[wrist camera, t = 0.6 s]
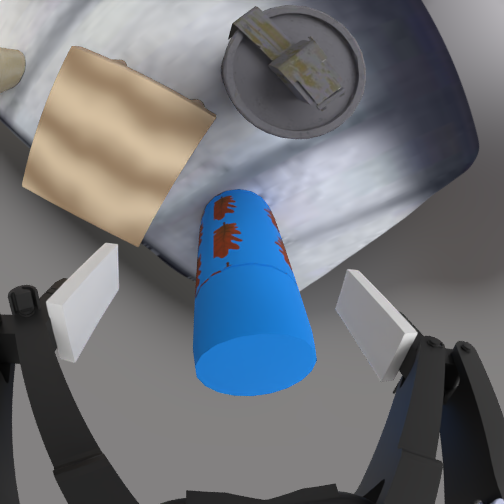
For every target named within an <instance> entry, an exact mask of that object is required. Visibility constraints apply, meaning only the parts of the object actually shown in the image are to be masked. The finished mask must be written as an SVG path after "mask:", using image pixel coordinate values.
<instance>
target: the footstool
mask: <svg viewBox="0 0 504 504" xmlns="http://www.w3.org/2000/svg"><path fill="white" fill-rule="evenodd" d="M215 119H216V114H214V113H212V112H211V111H209V110H207V109H206V108H205V107H204V104H203V103H202V102H201V101H200V100H197V99H194V100H190V99H188V98H186V97H185V96H183V95H181V94H179V93H177V92H176V91H174V90H172V89H170V88H168V87H166V86H164V85H162V84H161V83H159V82H157V81H155V80H153V79H151V78H149V77H147V76H145V75H143V74H141V73H139V72H137V71H135V70H133V69H131V68H128V67H127V65H126V63H125V61H123V60H114V59H109V58H107V57H104V56H102V55H100V54H98V53H95V52H93V51H90V50H88V49H86V48H83V47H79V46H72V47H71V49H70V51H69V52H68V54H67V56H66V58H65V60H64V62H63V65H62V67H61V69H60V71H59V73H58V75H57V77H56V80H55V82H54V84H53V87H52V89H51V92H50V94H49V96H48V99H47V102H46V104H45V107H44V110H43V112H42V115H41V118H40V121H39V124H38V127H37V130H36V133H35V136H34V139H33V143H32V146H31V150H30V154H29V157H28V161H27V165H26V169H25V174H24V178H23V183H22V186H23V187H24V188H26V189H28V190H30V191H32V192H33V193H35V194H37V195H39V196H41V197H43V198H44V199H46V200H48V201H50V202H52V203H53V204H55V205H57V206H59V207H61V208H63V209H65V210H66V211H68V212H70V213H72V214H74V215H76V216H78V217H80V218H81V219H84V220H85V221H87V222H89V223H91V224H93V225H95V226H97V227H99V228H101V229H103V230H105V231H107V232H109V233H111V234H113V235H115V236H117V237H119V238H121V239H123V240H125V241H127V242H129V243H131V244H133V245H135V246H137V247H138V246H139V245H140V243H141V241H142V239H143V237H144V235H145V233H146V231H147V230H148V228H149V226H150V224H151V222H152V220H153V219H154V217H155V215H156V213H157V211H158V210H159V208H160V206H161V204H162V203H163V201H164V199H165V197H166V196H167V194H168V192H169V191H170V189H171V187H172V185H173V184H174V182H175V180H176V179H177V177H178V176H179V174H180V172H181V171H182V169H183V167H184V166H185V164H186V163H187V161H188V159H189V158H190V156H191V155H192V153H193V152H194V150H195V149H196V147H197V145H198V144H199V142H200V141H201V139H202V138H203V136H204V135H205V133H206V132H207V130H208V129H209V128H210V126H211V125H212V123H213V122H214V120H215Z"/></svg>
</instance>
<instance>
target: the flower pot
mask: <svg viewBox="0 0 504 504" xmlns="http://www.w3.org/2000/svg"><path fill="white" fill-rule="evenodd" d="M24 70H25V57H24V55H23V53H21V52H20V51H19V50H14V49H7V48H0V93H2V92H4V91H6V90H8V89H10V88H13V87H14V86H15V85H17V84H18V82H19V81H20V79H21V77H22V75H23V73H24Z"/></svg>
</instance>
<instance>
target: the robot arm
mask: <svg viewBox="0 0 504 504" xmlns="http://www.w3.org/2000/svg"><path fill="white" fill-rule="evenodd" d="M118 290H119V273H118V244H111V243H105V244H104V245H103V246H102V247H100V248H99V249H98V250H97V251H96V252H95V253H94V254H93V255H92V256H91V257H90V258H89V259H88V260H87V261H86V262H85V263H84V264H83V265H81V267H79V268H78V270H76V271H75V272H74V273H73V274H72V275H71V276H70V277H69V278H68V279H66V278H63V279H61V280H59V281H57V282H55V283H54V284H53V285H52V286H51V287H50V289H48V290H47V291H46V293H44V294H43V295H42V297H40V298H39V296H38V291H37V289H36V288H35V287H33V286H30V285H22V286H18V287H16V288H14V289H12V290H11V291H10V292H9V294H8V299H9V303H10V307H11V311H12V315H1V314H0V504H20V503H19V498H18V491H17V485H16V478H15V469H14V459H13V445H12V397H13V382H14V371H15V363H16V364H20V365H21V369H22V374H23V378H24V382H25V386H26V390H27V393H28V397H29V400H30V404H31V407H32V411H33V414H34V417H35V420H36V423H37V426H38V429H39V431H40V434H41V437H42V440H43V442H44V445H45V447H46V450H47V452H48V455H49V457H50V459H51V462H52V464H53V466H54V470H53V473H54V476H55V479H56V481H57V483H58V485H59V487H60V489H61V491H62V493H63V494H64V497H65V498H66V500H67V502H68V504H139V503H138V502H137V501H136V499H135V498H134V497H133V495H132V494H131V493H130V491H129V490H128V489H127V487H126V486H125V484H124V483H123V482H122V480H121V479H120V477H119V476H118V474H117V473H116V471H115V470H114V468H113V467H112V465H111V464H110V463H109V461H108V459H107V458H106V456H105V455H104V454H103V453H102V451H101V450H100V448H99V447H98V445H97V443H96V441H95V440H94V438H93V436H92V434H91V433H90V431H89V429H88V427H87V425H86V423H85V421H84V419H83V417H82V415H81V413H80V411H79V409H78V407H77V405H76V403H75V401H74V399H73V397H72V394H71V392H70V390H69V387H68V385H67V383H66V380H65V378H64V375H63V373H62V370H61V368H60V365H59V363H58V360H57V357H56V355H55V350H56V349H57V350H58V353H59V357H60V359H63V360H66V361H70V362H74V363H75V362H76V360H77V359H78V357H79V355H80V353H81V352H82V350H83V348H84V346H85V344H86V343H87V341H88V339H89V338H90V336H91V334H92V332H93V331H94V329H95V327H96V326H97V324H98V322H99V321H100V319H101V317H102V316H103V314H104V312H105V311H106V309H107V307H108V306H109V304H110V303H111V301H112V299H113V298H114V296H115V294H116V293H117V292H118ZM335 310H336V311H337V313H338V314H339V316H340V317H341V319H342V321H343V322H344V324H345V325H346V327H347V328H348V330H349V332H350V333H351V335H352V336H353V338H354V340H355V341H356V343H357V344H358V346H359V348H360V349H361V351H362V352H363V354H364V355H365V357H366V359H367V360H368V362H369V364H370V365H371V367H372V368H373V370H374V372H375V373H376V375H377V377H378V378H379V380H380V382H384V381H392V380H394V378H395V376H396V375H397V373H398V371H400V372H401V374H402V375H403V376H402V377H401V379H400V381H399V383H398V384H397V386H396V388H395V390H394V391H393V393H395V392H396V394H395V397H394V400H393V404H392V406H391V410H390V412H389V416H388V418H387V421H386V424H385V427H384V429H383V432H382V435H381V437H380V440H379V443H378V445H377V448H376V450H375V453H374V455H373V458H372V460H371V462H370V464H369V467H368V469H367V471H366V473H365V475H364V477H363V480H362V482H361V484H360V486H359V487H358V489H357V491H356V492H355V493H354V494H351V493H347V492H340V491H338V490H337V487H336V484H330V485H325V486H319V487H312V488H304V489H300V490H297V491H294V492H292V493H289V494H286V495H282V496H279V497H276V498H272V499H269V500H261V499H255V498H249V497H244V496H239V495H234V494H229V493H219V492H200V491H188V490H187V491H186V498H182V499H176V500H171V501H167V502H164V503H161V504H435V500H436V496H437V492H438V487H439V483H440V479H441V474H442V468H443V470H444V493H445V504H504V417H503V414H502V411H501V409H500V406H499V403H498V400H497V398H496V395H495V393H494V390H493V388H492V385H491V383H490V380H489V378H488V376H487V373H486V371H485V369H484V366H483V364H482V362H481V360H480V358H479V356H478V354H477V352H476V350H475V348H474V347H473V346H472V345H471V344H469V343H468V342H464V341H459V342H457V343H456V345H455V347H454V348H453V349H446V348H445V346H444V344H443V343H442V342H441V341H440V340H438V339H437V338H435V337H431V336H423V335H422V334H421V333H420V332H419V330H417V328H416V327H415V326H414V325H412V323H411V322H410V321H409V320H408V319H407V318H406V317H405V316H404V314H402V313H401V312H399V311H398V310H396V308H394V306H393V305H392V304H391V303H390V302H389V301H388V300H387V299H386V298H385V297H384V296H383V295H382V294H381V293H380V292H379V291H378V290H377V289H376V288H375V287H374V286H373V285H372V284H371V283H370V282H369V281H368V280H367V279H366V278H365V277H364V276H363V275H362V274H361V273H360V272H359V271H358V270H350V269H347V272H346V275H345V279H344V282H343V286H342V289H341V293H340V296H339V299H338V302H337V306H336V309H335ZM439 433H440V437H441V445H442V456H443V463H442V462H441V461H439V460H436V459H435V457H436V451H437V445H438V439H439Z"/></svg>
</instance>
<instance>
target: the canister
mask: <svg viewBox="0 0 504 504" xmlns="http://www.w3.org/2000/svg"><path fill="white" fill-rule="evenodd" d="M231 37H232V38H231ZM230 38H231V40H230V42H229V44H228V46H227V48H226V52H225V56H224V58H223V62H222V72H221V73H222V79H223V82H224V85H225V87H226V90H227V93H228V95H229V97H230V99H231V101H232V103H233V104H234V106H235V107H236V109H237V110H238V111H239V112H240V113H241V114H242V116H243V117H244V118H245V119H246V120H247V121H249V122H250V123H251V124H253V125H254V126H255V127H257V128H259V129H261V130H263V131H264V132H266V133H269V134H272V135H275V136H278V137H282V138H291V139H309V138H313V137H317V136H321V135H324V134H326V133H328V132H330V131H332V130H334V129H336V128H337V127H339V126H340V125H341V124H342V123H344V122H345V121H346V120H347V119H348V118H349V117H350V116H351V115H352V114H353V112H354V111H355V109H356V107H357V106H358V104H359V102H360V100H361V98H362V95H363V93H364V88H365V84H366V67H365V63H364V59H363V55H362V52H361V50H360V48H359V46H358V44H357V42H356V40H355V38H354V37H353V36H352V35H351V34H350V32H349V31H348V30H347V29H346V28H345V27H344V26H343V25H342V24H341V23H340V22H338V21H337V20H335V19H334V18H332V17H331V16H329V15H327V14H326V13H324V12H321V11H318V10H315V9H312V8H309V7H305V6H293V5H285V6H280V7H274V8H270V9H267V10H265V11H263V12H262V11H261V10H260V9H259V8H258V7H256V6H255V7H254V8H252V9H251V10H250V11H248V12H247V13H246V14H244V15H243V16H242V17H240V18H239V19H238V20H236V21H235V22H234V23H233V24H232V27H231V31H230V34H229V38H228V39H230Z"/></svg>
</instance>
